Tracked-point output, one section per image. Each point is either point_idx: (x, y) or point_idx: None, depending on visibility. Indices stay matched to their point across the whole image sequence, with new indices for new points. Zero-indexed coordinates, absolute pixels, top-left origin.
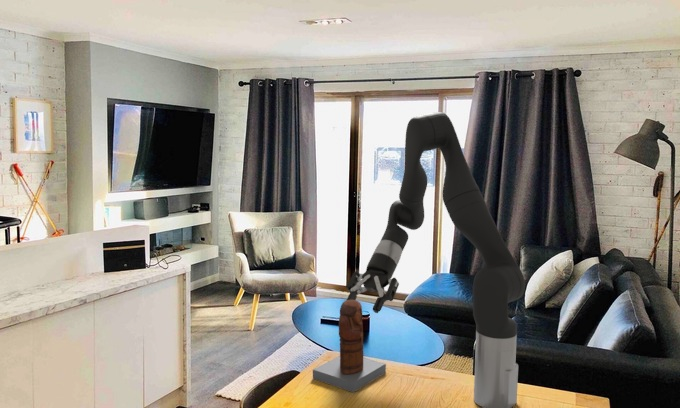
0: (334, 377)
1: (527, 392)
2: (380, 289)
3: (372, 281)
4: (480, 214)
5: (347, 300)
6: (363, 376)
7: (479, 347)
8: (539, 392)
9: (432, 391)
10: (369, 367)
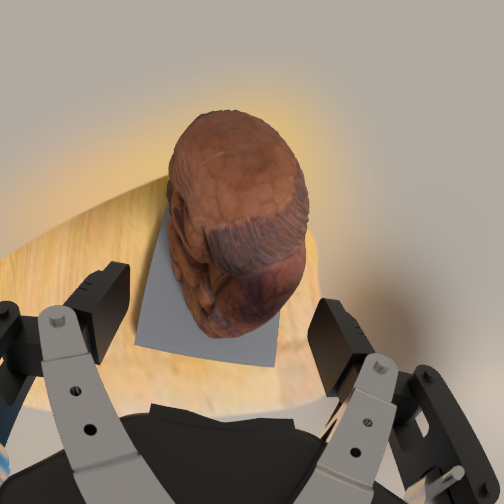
0: None
1: None
2: (57, 360)
3: (217, 494)
4: None
5: (272, 145)
6: (157, 239)
7: None
8: None
9: (27, 289)
10: (164, 299)
